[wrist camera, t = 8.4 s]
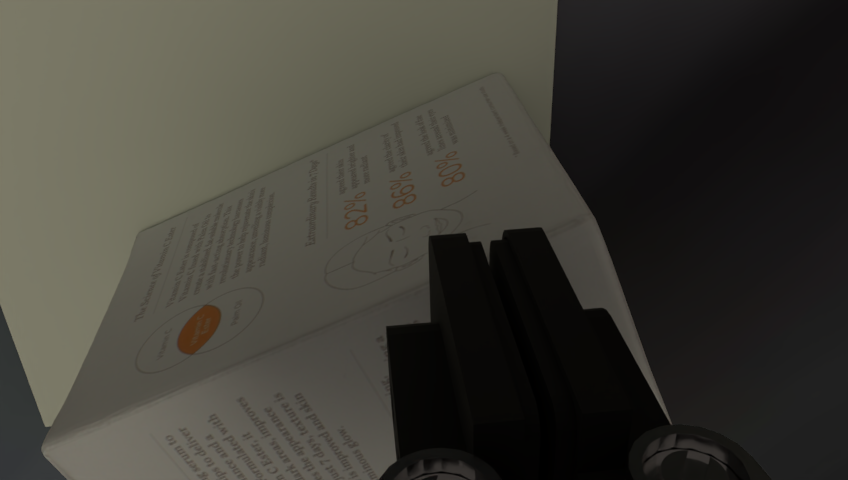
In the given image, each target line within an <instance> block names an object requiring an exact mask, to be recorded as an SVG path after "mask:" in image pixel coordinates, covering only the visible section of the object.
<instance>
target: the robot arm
mask: <svg viewBox="0 0 848 480" xmlns="http://www.w3.org/2000/svg"><path fill="white" fill-rule="evenodd" d="M428 252H429V285H430V319H431V322H428V323H417V324H405V325H393V326H386V338H387V353H388V368H389V382H390V395H391V407H392V418H393V429H394V439H395V449H396V459H397V461H396V462H395V463H393V464H392V465H390V466H389V467H388V468H387V470H386V471H385V472H384V474H383V475H382V476H381V477H380V479H379V480H772V479H771V478H770V476H769V475H768V474H767V473H766V472H765V471H764V470H763V468H762V467H761V466H760V465H759V464H758V463H757V461H756V460H755V459H754V458H753V457H752V456H751V455H750V454H749V453H748V452H747V451H746V450H744V449H743V448H742V447H741V446H740V445H739V444H738V443H736V442H734V441H733V440H731V439H729V438H727V437H726V436H724V435H722V434H720V433H718V432H715V431H712V430H709V429H706V428H703V427H699V426H691V425H683V424H676V425H671V424H670V422H669V420H668V419H667V417H666V415H665V413H664V411H663V409H662V408H661V406H660V404H659V402H658V400H657V399H656V397H655V395H654V393H653V391H652V389H651V388H650V386H649V384H648V382H647V380H646V379H645V377H644V375H643V373H642V371H641V369H640V368H639V366H638V364H637V362H636V360H635V359H634V357H633V355H632V353H631V351H630V349H629V348H628V346H627V344H626V342H625V340H624V338H623V337H622V335H621V333H620V331H619V329H618V328H617V326H616V324H615V322H614V320H613V318H612V317H611V315H610V314H609V312H608V311H607V310H606V309H604V308H592V309H583V308H582V306H581V304H580V302H579V300H578V298H577V296H576V294H575V292H574V290H573V288H572V286H571V284H570V282H569V280H568V278H567V276H566V274H565V272H564V270H563V268H562V266H561V264H560V262H559V260H558V258H557V256H556V254H555V252H554V250H553V248H552V246H551V244H550V242H549V240H548V238H547V236H546V234H545V232H544V230H543V229H542V227H535V228H522V229H509V230H504V232H503V235H502V240H491V242H490V252H489V263H488V260H487V257H486V254H485V252H484V249H483V246H482V243H481V242H480V241H478V242H469V240H468V237H467V235H466V233H457V234H444V235H431V236H429V240H428Z"/></svg>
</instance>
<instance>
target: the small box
mask: <svg viewBox="0 0 848 480" xmlns="http://www.w3.org/2000/svg"><path fill="white" fill-rule="evenodd" d="M535 227H542V229H543V230H544V232H545V234H546V236H547V238H548V240H549V242H550V244H551V246H552V248H553V250H554V252H555V254H556V256H557V258H558V260H559V262H560V264H561V266H562V268H563V270H564V272H565V274H566V276H567V278H568V280H569V282H570V284H571V286H572V288H573V290H574V292H575V294H576V296H577V298H578V300H579V302H580V304H581V306H582V308H583V309H592V308H604V309H606V310H607V311H608V312H609V314H610V315H611V317H612V318H613V320H614V322H615V324H616V326H617V328H618V329H619V331H620V333H621V335H622V337H623V338H624V340H625V342H626V344H627V346H628V348H629V349H630V351H631V353H632V355H633V357H634V359H635V360H636V362H637V364H638V366H639V368H640V369H641V371H642V373H643V375H644V377H645V379H646V380H647V382H648V384H649V386H650V388H651V389H652V391H653V393H654V395H655V397H656V399H657V400H658V402H659V404H660V406H661V408H662V409H663V411H664V413H665V415H666V417H667V419H668V420H669V422H670V424H671V425H672V423H671V420H670V418H669V415H668V413H667V410H666V407H665V405H664V402H663V400H662V397H661V395H660V392H659V390H658V387H657V385H656V382H655V380H654V377H653V375H652V372H651V369H650V367H649V364H648V361H647V358H646V355H645V353H644V350H643V347H642V344H641V341H640V339H639V336H638V333H637V330H636V327H635V325H634V322H633V319H632V316H631V313H630V310H629V308H628V305H627V302H626V299H625V296H624V294H623V291H622V288H621V285H620V282H619V280H618V277H617V274H616V271H615V268H614V266H613V263H612V260H611V257H610V255H609V252H608V249H607V246H606V244H605V241H604V239H603V236H602V234H601V231H600V229H599V226H598V224H597V221H596V219H595V217H594V216H593V214H592V213H591V211H590V209H589V208H588V206H587V205H586V203H585V201H584V200H583V198H582V197H581V195H580V193H579V192H578V190H577V189H576V187H575V185H574V184H573V182H572V181H571V179H570V178H569V176H568V174H567V173H566V171H565V170H564V168H563V167H562V165H561V164H560V162H559V160H558V159H557V157H556V156H555V154H554V153H553V151H552V149H551V148H550V146H549V145H548V143H547V141H546V140H545V139H544V137H543V136H542V134H541V132H540V131H539V129H538V128H537V126H536V124H535V123H534V121H533V120H532V119H531V117H530V116H529V114H528V112H527V111H526V109H525V107H524V106H523V104H522V103H521V101H520V99H519V98H518V96H517V95H516V93H515V92H514V90H513V89H512V87H511V86H510V84H509V83H508V81H507V80H506V78H505V76H504V75H503V74H501V73H494V74H491V75H489V76H487V77H484V78H482V79H480V80H477V81H475V82H473V83H471V84H468V85H466V86H464V87H462V88H459V89H457V90H455V91H453V92H450V93H448V94H446V95H444V96H442V97H439V98H437V99H435V100H433V101H431V102H428V103H426V104H423V105H421V106H418V107H416V108H414V109H412V110H410V111H408V112H405V113H403V114H401V115H399V116H396V117H394V118H392V119H390V120H388V121H385V122H383V123H381V124H379V125H377V126H375V127H373V128H370V129H368V130H365V131H363V132H361V133H359V134H357V135H355V136H352V137H350V138H348V139H345V140H343V141H341V142H339V143H336V144H334V145H332V146H330V147H328V148H326V149H323V150H321V151H319V152H316V153H314V154H312V155H310V156H308V157H305V158H303V159H301V160H299V161H297V162H294V163H292V164H290V165H288V166H286V167H284V168H282V169H279V170H277V171H275V172H272V173H270V174H268V175H266V176H264V177H262V178H259V179H257V180H255V181H253V182H251V183H249V184H247V185H244V186H242V187H240V188H238V189H236V190H233V191H231V192H229V193H227V194H225V195H223V196H221V197H218V198H216V199H214V200H212V201H209V202H207V203H205V204H203V205H200V206H198V207H196V208H194V209H192V210H189V211H187V212H185V213H183V214H180V215H178V216H176V217H174V218H172V219H169V220H167V221H165V222H163V223H161V224H159V225H156V226H154V227H152V228H149V229H147V230H144V231H142V232H140V233H138V234H137V236H136V239H135V242H134V245H133V247H132V250H131V254H130V257H129V260H128V262H127V265H126V268H125V270H124V273H123V275H122V277H121V280H120V282H119V284H118V286H117V289H116V291H115V293H114V296H113V298H112V300H111V302H110V305H109V307H108V310H107V312H106V314H105V316H104V318H103V320H102V322H101V325H100V327H99V329H98V331H97V333H96V335H95V338H94V341H93V343H92V345H91V347H90V349H89V352H88V354H87V356H86V358H85V360H84V362H83V364H82V366H81V368H80V371H79V373H78V375H77V377H76V379H75V382H74V384H73V386H72V388H71V390H70V392H69V394H68V396H67V398H66V400H65V402H64V404H63V406H62V408H61V410H60V411H59V413H58V415H57V417H56V418H55V420H54V422H53V424H52V426H51V428H50V430H49V432H48V434H47V435H46V437H45V439H44V442H43V444H42V448H41V451H42V453H43V455H44V457H45V458H46V459H47V460H48V461H49V462H50V463H51V464H52V465H53V466H54V467H55V468H56V469H57V470H58V471H59V472H60V473H61V474H62V475H63V476H65V477H66V478H67V479H68V480H379V479H380V477H381V476H382V475H383V474H384V472H385V471H386V470H387V468H388V467H389V466H390V465H392V464H393V463H395V462H396V461H397V459H396V449H395V439H394V429H393V418H392V407H391V395H390V382H389V368H388V353H387V338H386V326H393V325H405V324H417V323H428V322H431V319H430V285H429V252H428V240H429V236H431V235H444V234H457V233H466V235H467V237H468V240H469V242H478V241H480V242H481V243H482V246H483V249H484V252H485V254H486V257H487V260H488V263H489V252H490V242H491V240H502V235H503V232H504V230H509V229H522V228H535Z"/></svg>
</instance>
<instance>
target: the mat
mask: <svg viewBox="0 0 848 480" xmlns="http://www.w3.org/2000/svg"><path fill="white" fill-rule="evenodd" d="M557 5H558V0H0V305H1V308H2V310H3V313H4V316H5V318H6V321H7V324H8V327H9V329H10V332H11V335H12V338H13V340H14V343H15V346H16V348H17V351H18V354H19V357H20V359H21V362H22V365H23V368H24V370H25V373H26V376H27V378H28V381H29V384H30V387H31V389H32V392H33V395H34V397H35V400H36V403H37V406H38V408H39V411H40V414H41V417H42V419H43V422H44V425H45V427H48V426H52V424H53V422H54V420H55V418H56V417H57V415H58V413H59V411H60V410H61V408H62V406H63V404H64V402H65V400H66V398H67V396H68V394H69V392H70V390H71V388H72V386H73V384H74V382H75V379H76V377H77V375H78V373H79V371H80V368H81V366H82V364H83V362H84V360H85V358H86V356H87V354H88V352H89V349H90V347H91V345H92V343H93V341H94V338H95V335H96V333H97V331H98V329H99V327H100V325H101V322H102V320H103V318H104V316H105V314H106V312H107V310H108V307H109V305H110V302H111V300H112V298H113V296H114V293H115V291H116V289H117V286H118V284H119V282H120V280H121V277H122V275H123V273H124V270H125V268H126V265H127V262H128V260H129V257H130V254H131V250H132V247H133V245H134V242H135V239H136V236H137V234H138V233H140V232H142V231H144V230H147V229H149V228H152V227H154V226H156V225H159V224H161V223H163V222H165V221H167V220H169V219H172V218H174V217H176V216H178V215H180V214H183V213H185V212H187V211H189V210H192V209H194V208H196V207H198V206H200V205H203V204H205V203H207V202H209V201H212V200H214V199H216V198H218V197H221V196H223V195H225V194H227V193H229V192H231V191H233V190H236V189H238V188H240V187H242V186H244V185H247V184H249V183H251V182H253V181H255V180H257V179H259V178H262V177H264V176H266V175H268V174H270V173H272V172H275V171H277V170H279V169H282V168H284V167H286V166H288V165H290V164H292V163H294V162H297V161H299V160H301V159H303V158H305V157H308V156H310V155H312V154H314V153H316V152H319V151H321V150H323V149H326V148H328V147H330V146H332V145H334V144H336V143H339V142H341V141H343V140H345V139H348V138H350V137H352V136H355V135H357V134H359V133H361V132H363V131H365V130H368V129H370V128H373V127H375V126H377V125H379V124H381V123H383V122H385V121H388V120H390V119H392V118H394V117H396V116H399V115H401V114H403V113H405V112H408V111H410V110H412V109H414V108H416V107H418V106H421V105H423V104H426V103H428V102H431V101H433V100H435V99H437V98H439V97H442V96H444V95H446V94H448V93H450V92H453V91H455V90H457V89H459V88H462V87H464V86H466V85H468V84H471V83H473V82H475V81H477V80H480V79H482V78H484V77H487V76H489V75H491V74H494V73H501V74H503V75H504V76H505V78H506V80H507V81H508V83H509V84H510V86H511V87H512V89H513V90H514V92H515V93H516V95H517V96H518V98H519V99H520V101H521V103H522V104H523V106H524V107H525V109H526V111H527V112H528V114H529V116H530V117H531V119H532V120H533V121H534V123H535V124H536V126H537V128H538V129H539V131H540V132H541V134H542V136H543V137H544V139H545V140H546V141H547V143H548V145H549V146H550V129H551V112H552V94H553V76H554V58H555V40H556V23H557Z"/></svg>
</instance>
